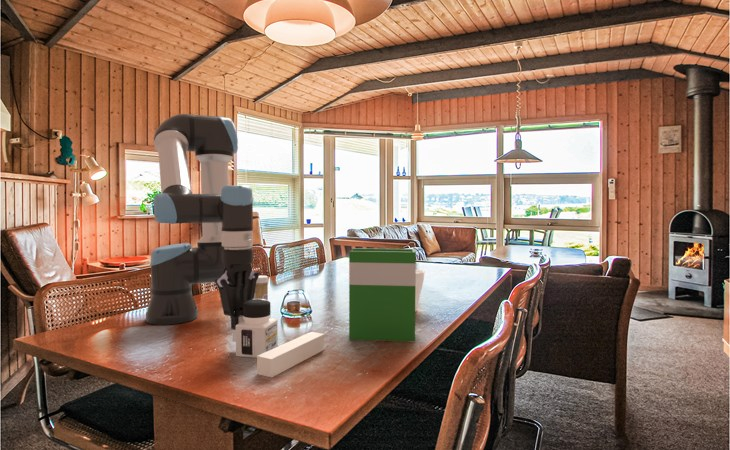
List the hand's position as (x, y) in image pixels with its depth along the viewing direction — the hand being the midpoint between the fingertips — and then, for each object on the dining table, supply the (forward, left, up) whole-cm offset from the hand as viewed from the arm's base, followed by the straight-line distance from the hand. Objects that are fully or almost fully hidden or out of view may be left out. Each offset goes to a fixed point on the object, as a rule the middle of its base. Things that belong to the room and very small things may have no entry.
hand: (238, 341), depth 112 cm
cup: (+22, +57, -2) cm, 61 cm away
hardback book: (+27, +27, -2) cm, 38 cm away
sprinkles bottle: (-15, +25, -2) cm, 29 cm away
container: (+5, +1, -2) cm, 6 cm away
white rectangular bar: (+17, 0, -2) cm, 17 cm away
